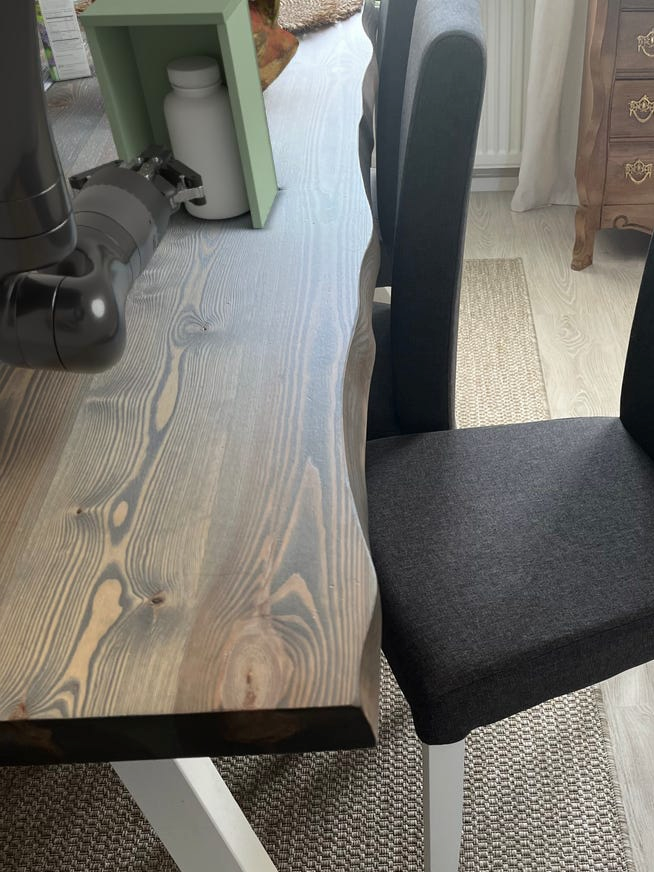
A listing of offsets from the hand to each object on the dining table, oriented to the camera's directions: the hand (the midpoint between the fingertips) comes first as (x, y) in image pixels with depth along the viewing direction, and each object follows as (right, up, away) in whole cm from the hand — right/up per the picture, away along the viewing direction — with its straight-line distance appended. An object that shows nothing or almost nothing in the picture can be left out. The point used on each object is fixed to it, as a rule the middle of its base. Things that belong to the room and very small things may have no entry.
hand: (160, 155), depth 99 cm
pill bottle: (+2, +2, +16) cm, 17 cm away
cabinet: (+1, +1, +16) cm, 16 cm away
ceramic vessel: (-6, +27, +42) cm, 50 cm away
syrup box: (-30, +38, +53) cm, 72 cm away
